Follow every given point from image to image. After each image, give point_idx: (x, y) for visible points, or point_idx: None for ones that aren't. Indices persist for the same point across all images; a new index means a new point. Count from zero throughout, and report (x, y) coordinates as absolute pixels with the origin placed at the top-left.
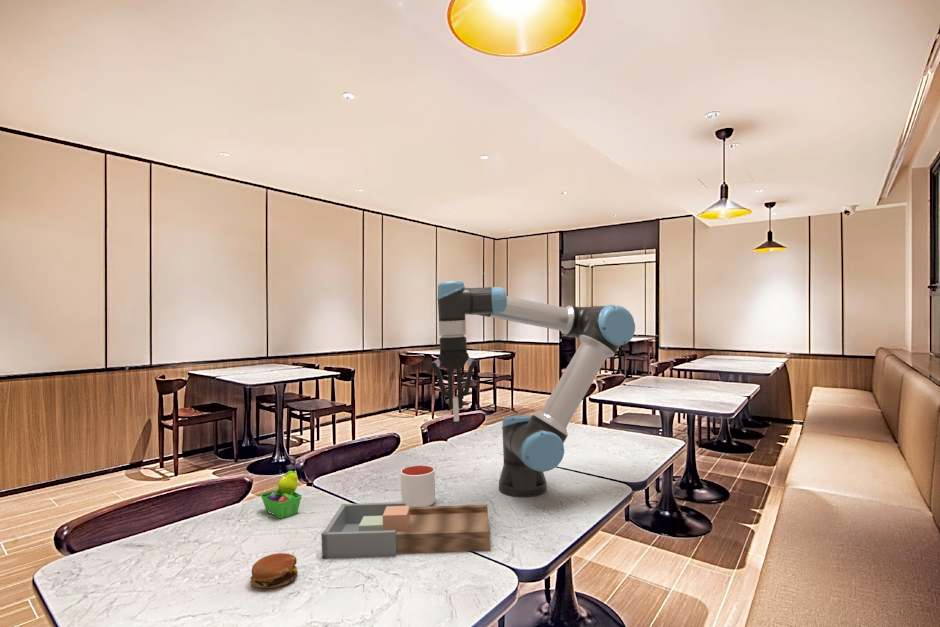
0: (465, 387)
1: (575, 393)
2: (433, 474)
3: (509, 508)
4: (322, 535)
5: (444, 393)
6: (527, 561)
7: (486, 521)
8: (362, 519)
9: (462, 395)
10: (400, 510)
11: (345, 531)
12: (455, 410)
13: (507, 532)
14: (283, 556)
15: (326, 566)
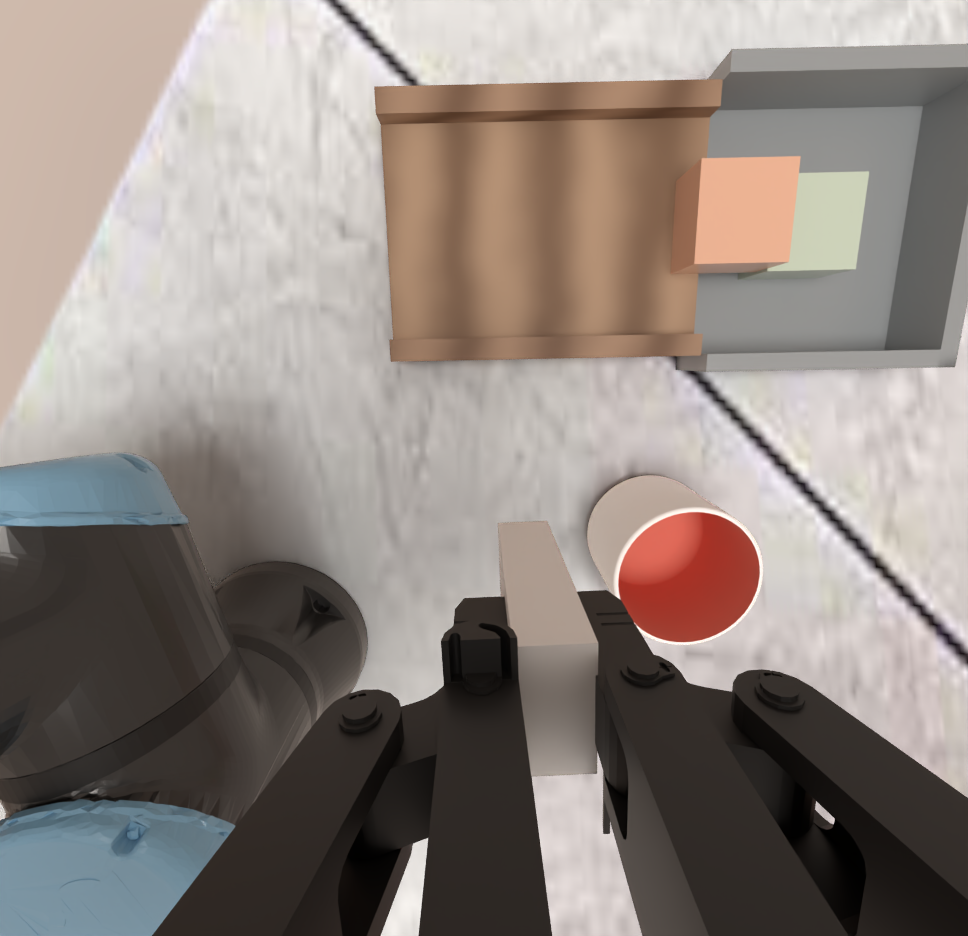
0: (345, 800)
1: None
2: (613, 555)
3: (329, 467)
4: None
5: (775, 690)
6: (267, 29)
7: (395, 252)
8: (858, 235)
9: (440, 703)
10: (730, 210)
11: (881, 283)
12: (539, 563)
13: (334, 265)
14: None
15: (915, 27)
